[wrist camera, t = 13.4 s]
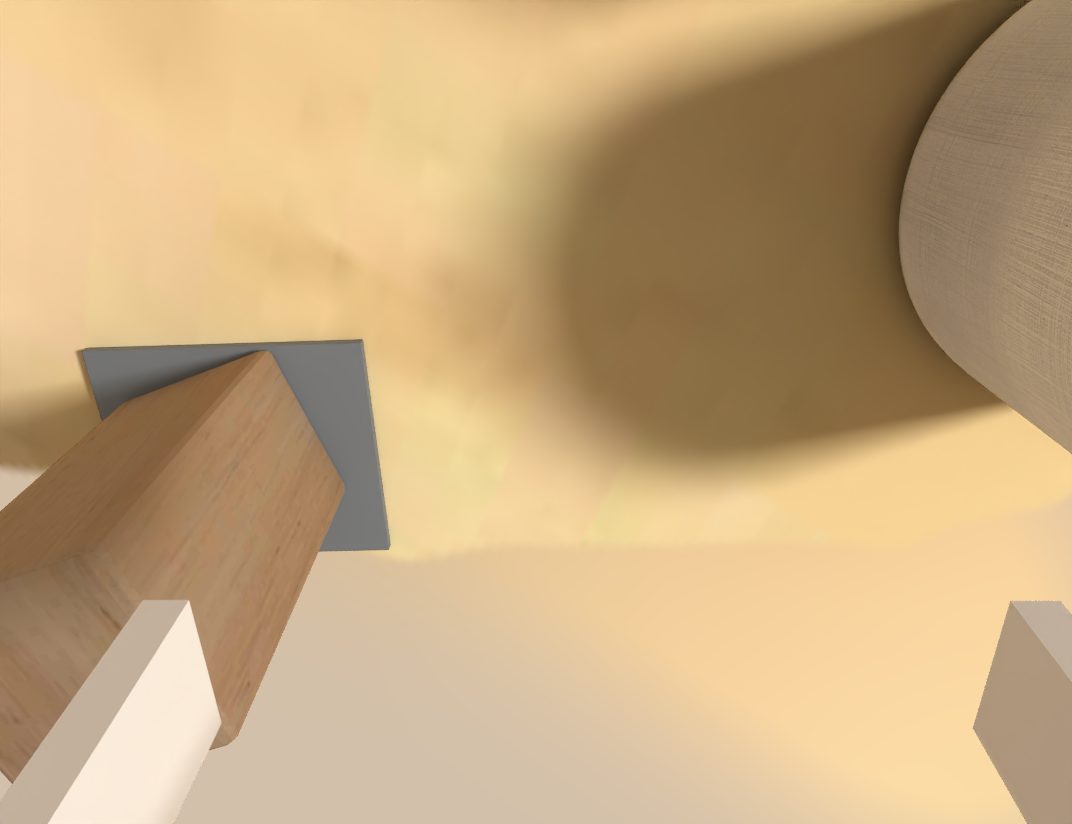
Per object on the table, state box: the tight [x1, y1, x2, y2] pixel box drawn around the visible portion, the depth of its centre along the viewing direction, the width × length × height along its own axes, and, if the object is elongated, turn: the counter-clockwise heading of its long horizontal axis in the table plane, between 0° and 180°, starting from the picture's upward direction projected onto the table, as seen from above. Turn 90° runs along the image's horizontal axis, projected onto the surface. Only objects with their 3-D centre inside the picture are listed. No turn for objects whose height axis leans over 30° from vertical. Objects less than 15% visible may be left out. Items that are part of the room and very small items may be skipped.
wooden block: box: [0, 351, 345, 784], centre depth 40 cm, size 10×10×20 cm
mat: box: [82, 340, 390, 551], centre depth 50 cm, size 14×16×1 cm
